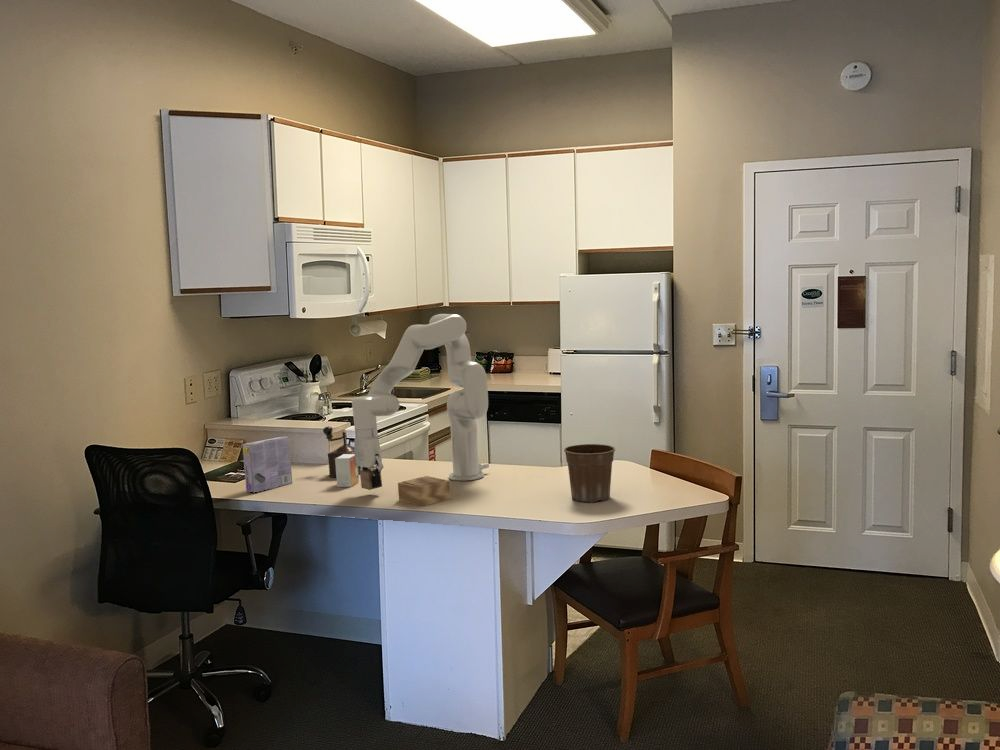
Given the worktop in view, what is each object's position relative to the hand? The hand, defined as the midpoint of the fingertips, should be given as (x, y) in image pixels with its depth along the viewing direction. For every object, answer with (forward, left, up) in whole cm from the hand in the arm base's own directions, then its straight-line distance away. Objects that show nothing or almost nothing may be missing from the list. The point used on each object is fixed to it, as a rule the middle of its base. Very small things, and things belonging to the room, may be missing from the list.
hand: (371, 485), depth 309 cm
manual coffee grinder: (-12, -38, -4) cm, 40 cm away
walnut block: (0, 0, -1) cm, 1 cm away
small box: (-4, -21, -4) cm, 22 cm away
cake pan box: (+16, -41, -4) cm, 44 cm away
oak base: (-7, +20, -4) cm, 21 cm away
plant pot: (-41, +63, -4) cm, 75 cm away
